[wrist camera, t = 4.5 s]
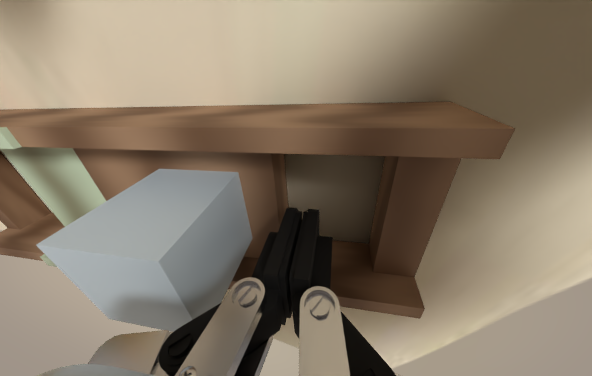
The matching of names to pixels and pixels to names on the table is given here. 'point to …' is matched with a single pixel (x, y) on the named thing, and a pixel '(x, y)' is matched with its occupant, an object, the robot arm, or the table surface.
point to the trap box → (249, 174)
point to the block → (158, 247)
